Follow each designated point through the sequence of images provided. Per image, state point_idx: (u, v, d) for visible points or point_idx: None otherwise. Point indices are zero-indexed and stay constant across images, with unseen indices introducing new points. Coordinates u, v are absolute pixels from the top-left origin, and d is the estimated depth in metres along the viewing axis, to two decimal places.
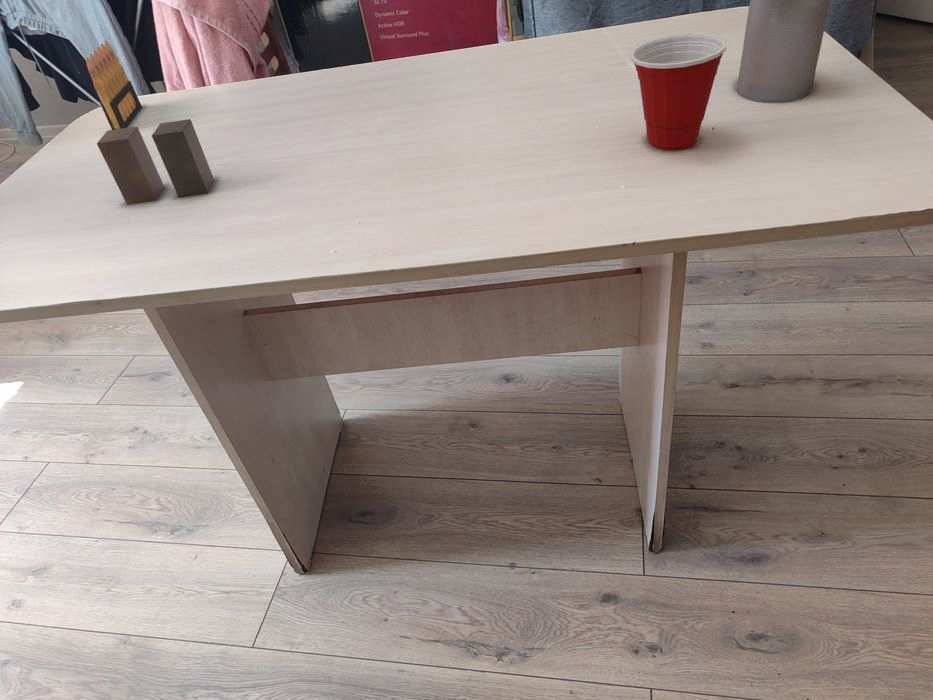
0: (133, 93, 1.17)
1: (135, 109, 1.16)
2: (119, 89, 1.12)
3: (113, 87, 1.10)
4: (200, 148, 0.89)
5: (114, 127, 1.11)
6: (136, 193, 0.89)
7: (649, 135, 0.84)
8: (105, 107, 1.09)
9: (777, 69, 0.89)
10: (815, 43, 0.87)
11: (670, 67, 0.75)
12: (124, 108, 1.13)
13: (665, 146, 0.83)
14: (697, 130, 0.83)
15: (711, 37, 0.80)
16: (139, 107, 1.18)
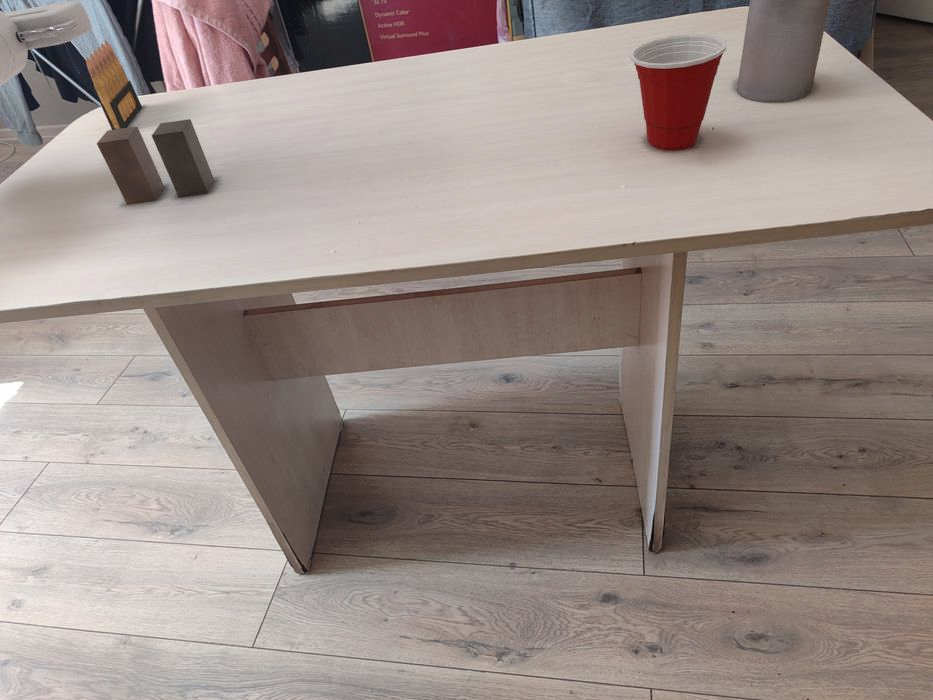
0: (133, 93, 1.17)
1: (135, 109, 1.16)
2: (119, 89, 1.12)
3: (114, 87, 1.10)
4: (200, 148, 0.89)
5: (114, 127, 1.11)
6: (136, 193, 0.89)
7: (649, 135, 0.84)
8: (105, 107, 1.09)
9: (777, 69, 0.89)
10: (815, 43, 0.87)
11: (670, 67, 0.75)
12: (124, 108, 1.13)
13: (665, 146, 0.83)
14: (697, 130, 0.83)
15: (711, 37, 0.80)
16: (139, 107, 1.18)
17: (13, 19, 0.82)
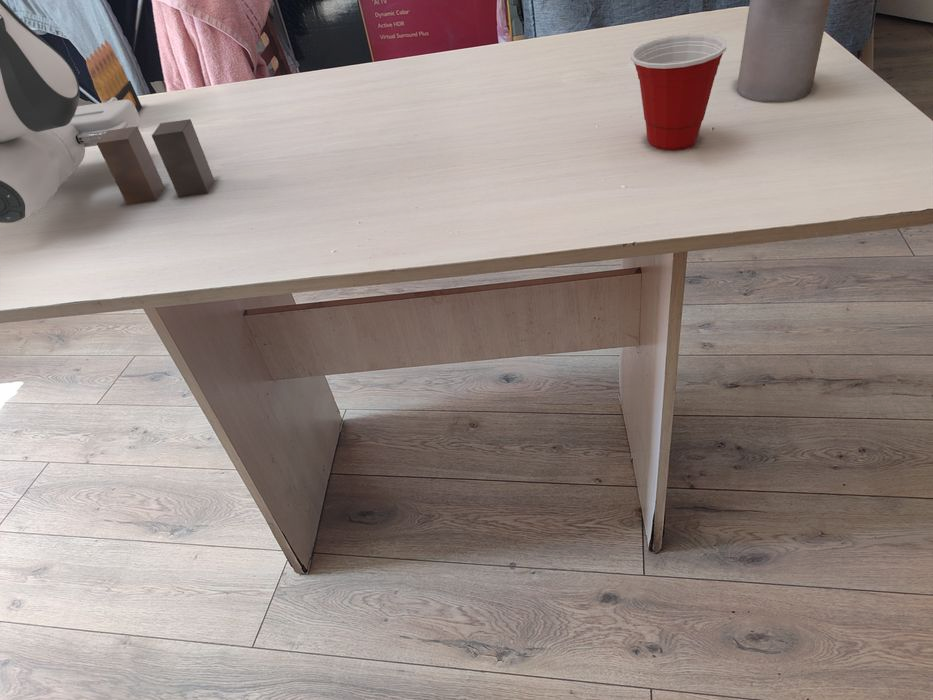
0: (133, 93, 1.17)
1: None
2: (119, 89, 1.12)
3: (114, 87, 1.10)
4: (200, 148, 0.89)
5: None
6: (136, 193, 0.89)
7: (649, 135, 0.84)
8: None
9: (777, 69, 0.89)
10: (815, 43, 0.87)
11: (670, 67, 0.75)
12: None
13: (665, 146, 0.83)
14: (697, 130, 0.83)
15: (711, 37, 0.80)
16: (139, 107, 1.18)
17: (73, 122, 0.92)
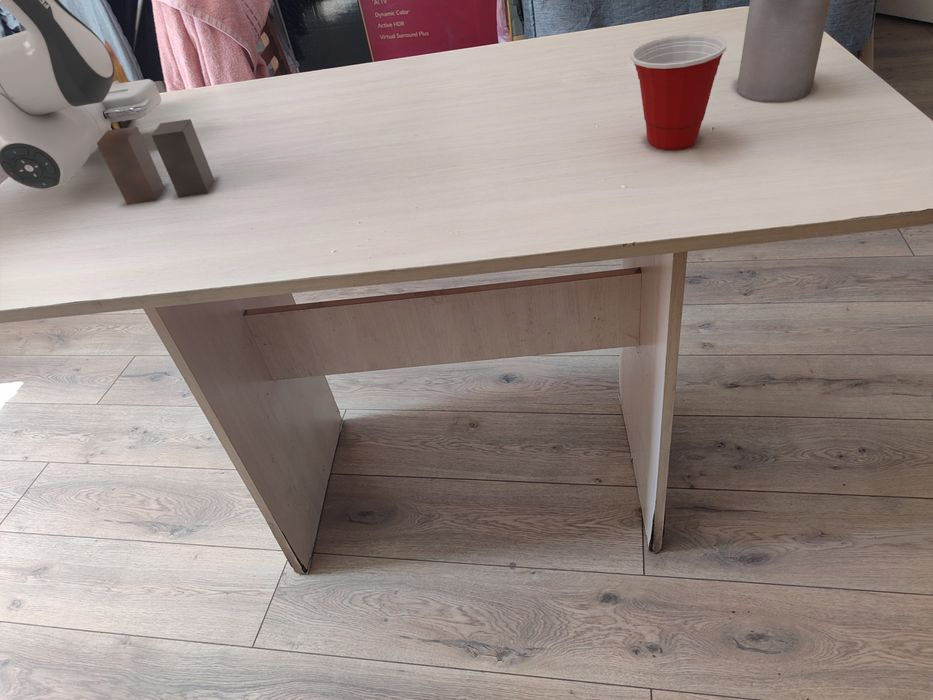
0: None
1: None
2: None
3: None
4: (200, 148, 0.89)
5: (114, 127, 1.11)
6: (136, 193, 0.89)
7: (649, 135, 0.84)
8: None
9: (777, 69, 0.89)
10: (815, 43, 0.87)
11: (670, 67, 0.75)
12: None
13: (665, 146, 0.83)
14: (697, 130, 0.83)
15: (711, 37, 0.80)
16: None
17: None
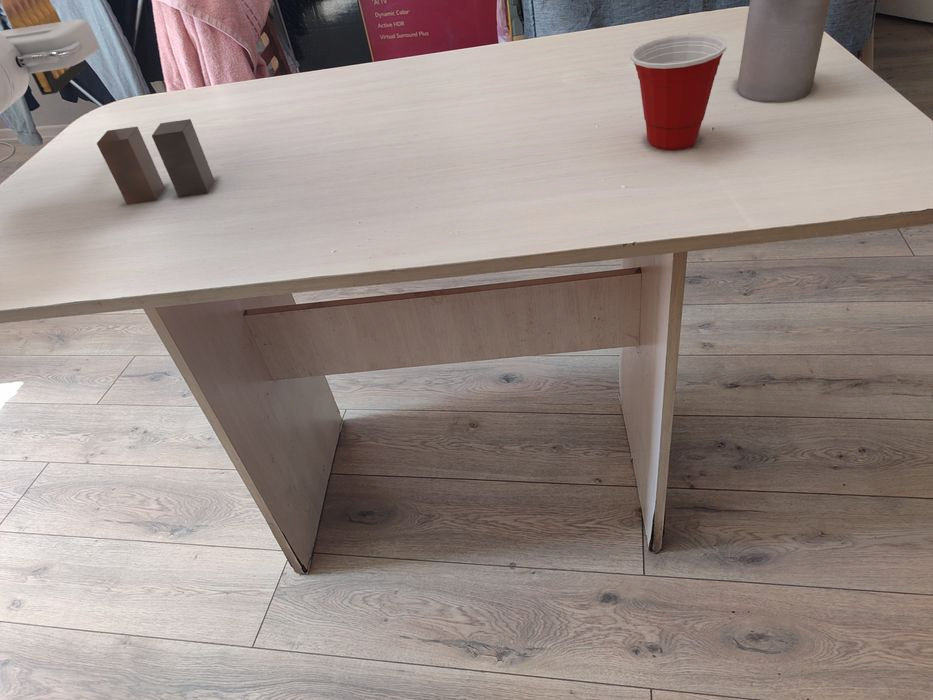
0: None
1: (73, 66, 0.92)
2: None
3: None
4: (200, 148, 0.89)
5: (42, 85, 0.87)
6: (136, 193, 0.89)
7: (649, 135, 0.84)
8: None
9: (777, 69, 0.89)
10: (815, 43, 0.87)
11: (670, 67, 0.75)
12: None
13: (665, 146, 0.83)
14: (697, 130, 0.83)
15: (711, 37, 0.80)
16: (80, 64, 0.94)
17: (13, 41, 0.75)
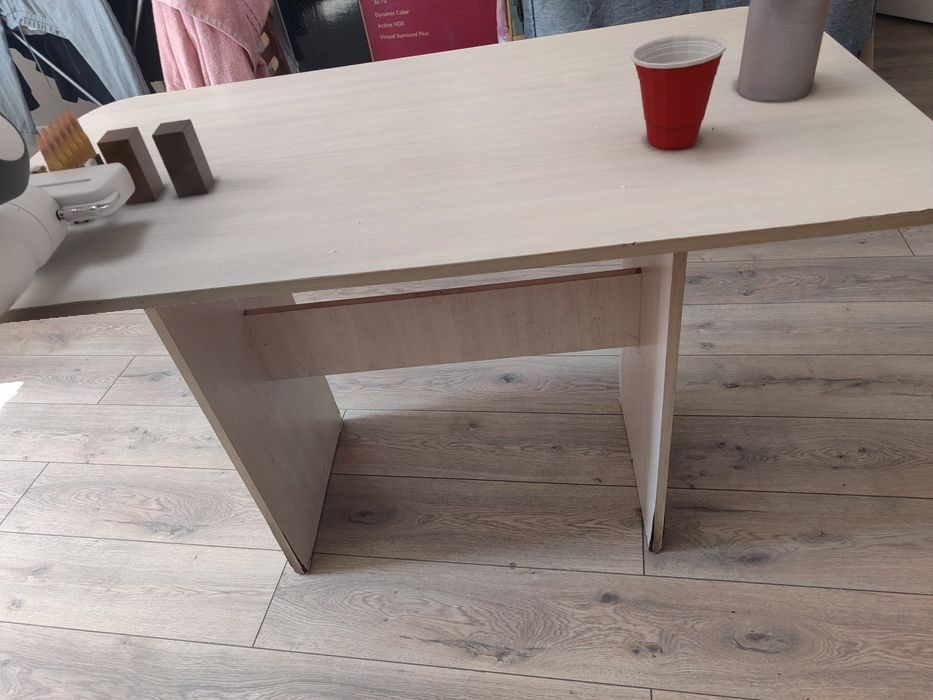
0: None
1: None
2: None
3: (75, 167, 0.87)
4: (200, 148, 0.89)
5: None
6: (136, 193, 0.89)
7: (649, 135, 0.84)
8: None
9: (777, 69, 0.89)
10: (815, 43, 0.87)
11: (670, 67, 0.75)
12: None
13: (665, 146, 0.83)
14: (697, 130, 0.83)
15: (711, 37, 0.80)
16: None
17: (53, 194, 0.76)
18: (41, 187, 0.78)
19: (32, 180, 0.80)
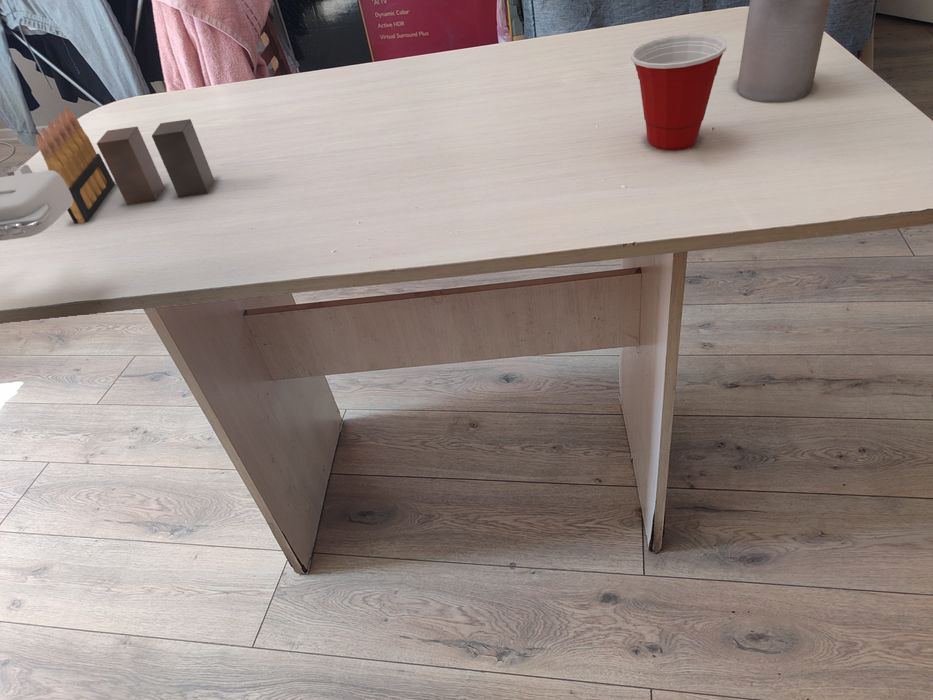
0: (103, 169, 0.93)
1: (105, 189, 0.93)
2: (83, 167, 0.88)
3: (75, 167, 0.87)
4: (200, 148, 0.89)
5: (75, 217, 0.87)
6: (136, 193, 0.89)
7: (649, 135, 0.84)
8: None
9: (777, 69, 0.89)
10: (815, 43, 0.87)
11: (670, 67, 0.75)
12: (89, 191, 0.89)
13: (665, 146, 0.83)
14: (697, 130, 0.83)
15: (711, 37, 0.80)
16: (111, 185, 0.94)
17: None
18: None
19: None
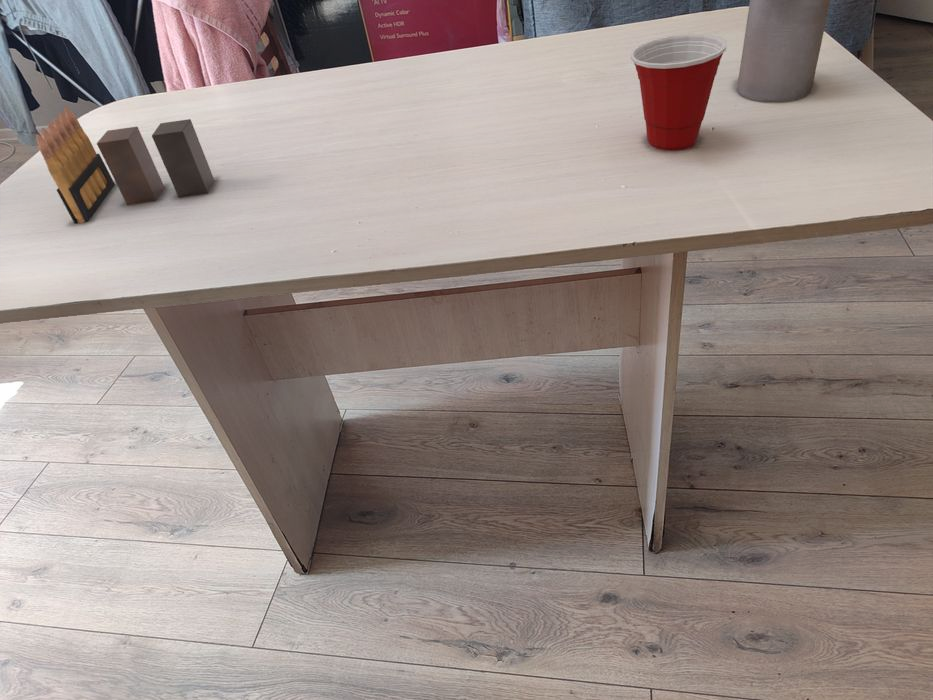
0: (103, 169, 0.93)
1: (105, 189, 0.93)
2: (83, 167, 0.88)
3: (75, 167, 0.87)
4: (200, 148, 0.89)
5: (75, 217, 0.87)
6: (136, 193, 0.89)
7: (649, 135, 0.84)
8: (63, 194, 0.85)
9: (777, 69, 0.89)
10: (815, 43, 0.87)
11: (670, 67, 0.75)
12: (89, 191, 0.89)
13: (665, 146, 0.83)
14: (697, 130, 0.83)
15: (711, 37, 0.80)
16: (111, 185, 0.94)
17: None
18: None
19: None
